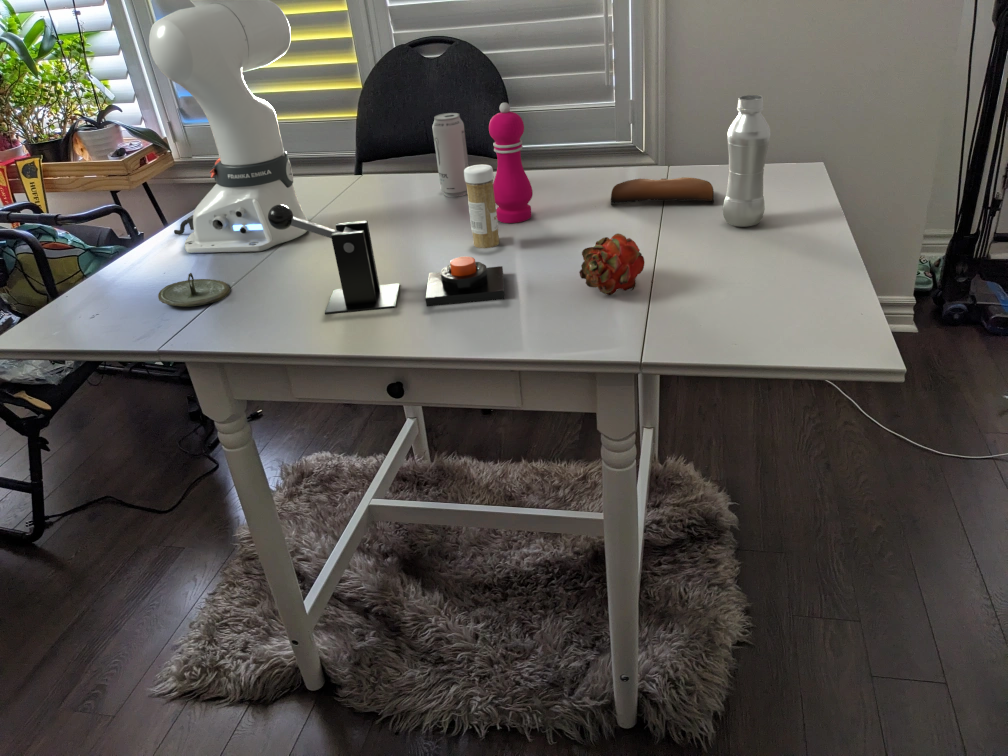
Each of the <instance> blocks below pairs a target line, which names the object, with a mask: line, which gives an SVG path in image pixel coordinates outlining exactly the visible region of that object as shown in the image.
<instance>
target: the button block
mask: <svg viewBox="0 0 1008 756" xmlns="http://www.w3.org/2000/svg"><path fill="white" fill-rule="evenodd" d="M475 263H476V272H475V273H473V274H470V275H466V276H455V275H452V274H451V267H450V264H447V265H446V266H444V267H443V268H442V269H441V270H440V271H437V272H429V273H428V276H427V277H428V278H427V284H426V292H425V299H424V300H425V305H426V307H427V308H429V307H438V306H448V305H459V304H460V305H461V304H470V303H478V302H479V303H480V302H490V301H501V300H505V281H504V269H503V268H504V267H503V266H489V267H487V265H486V264H484V263H483V262H480V261H475Z"/></svg>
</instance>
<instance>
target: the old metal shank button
mask: <svg viewBox="0 0 1008 756" xmlns="http://www.w3.org/2000/svg"><path fill="white" fill-rule="evenodd" d="M230 291H231V288H230V287H229V285H228V283H227V282H225V281H223V280H220V279H219V280H218V279H210V278H197V279H195V278H194V275H193V273H192V272H189V273H188V276H187V279H186V280H181V281H177V282H172V283H171V284H170V283H169V284H168V285H165V286H164V287H163V288H161V290H160V291H159V292H158V294H157V299H158V301H159V302H161V303H162V304H165V305H168V306H174V307H199V306H203V305H208V304H213V303H216V302H219V301H221V300H223V299H225V298H226V297H227V296H229V294H230Z"/></svg>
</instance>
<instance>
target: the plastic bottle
mask: <svg viewBox="0 0 1008 756" xmlns="http://www.w3.org/2000/svg"><path fill="white" fill-rule="evenodd" d="M736 111H737V112H738V114H737V116H736V117H735V118H734V119H733V121H732V122H731V124H730V126H729V127H728V130H727V132H726V134H727V136H726V137H727V139H726V140H727V150H728V177H727V186H726V193H725V196H724V199H723V205H722V214H723V219H724V220H725V222H726V223H727V224H728V225H731V226H735V227H741V228H742V227H743V228H744V227H753V226H756V225H758V224H759V223H760V222H761V221H762V220H763V217H764V214H765V210H766V207H765V196H764V172H765V167H766V166H765V164H766V158H767V152H768V149H769V145H770V144H769V143H770V139H771V135H772V134H771V133H772V132H771V127H770V125H769V123H768V122H767V120H766V118H765V117H764V115H763V114H762V111H764V96H763V95H761V94H745V95H740V96H739V97H738V98H737V107H736Z"/></svg>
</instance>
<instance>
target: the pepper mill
mask: <svg viewBox="0 0 1008 756" xmlns="http://www.w3.org/2000/svg"><path fill="white" fill-rule="evenodd" d="M510 110H511V106H510V104H509V103H508V102H502V103H500V105H499V111H500V112H498V113H496V114H495V115H493V116H492V117H491V118H490V120H489V124H488V131H489V136H490V137H491V138H492V139H493V140H494V142H493V152H494V153H496V158H497V160H496V161H497V168H496V173H495V176H494V178H493V189H494V198H495V204H496V206H498V207H496V213H497V222H500V223H503V224H518V223H523V222H526V221H529V220H530V219H531V218H532V216H533V215H532V206H531V205H530V204H529V203H530V202H531V200H532V198H533V195H534V194H533V193H534V191H533V187H532V184H531V181H530V178H529V177H528V175H527V174H526V171H525V169H524V166H523V163H522V157H521V156H522V155H521V151H522V150H523V148H524V146H523V140H522V139H521V137H522V136H523V134H524V132H525V124H524V120H523V119H522V117H521V116H520V115H519V114H518V113H516V112H514V111H510Z"/></svg>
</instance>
